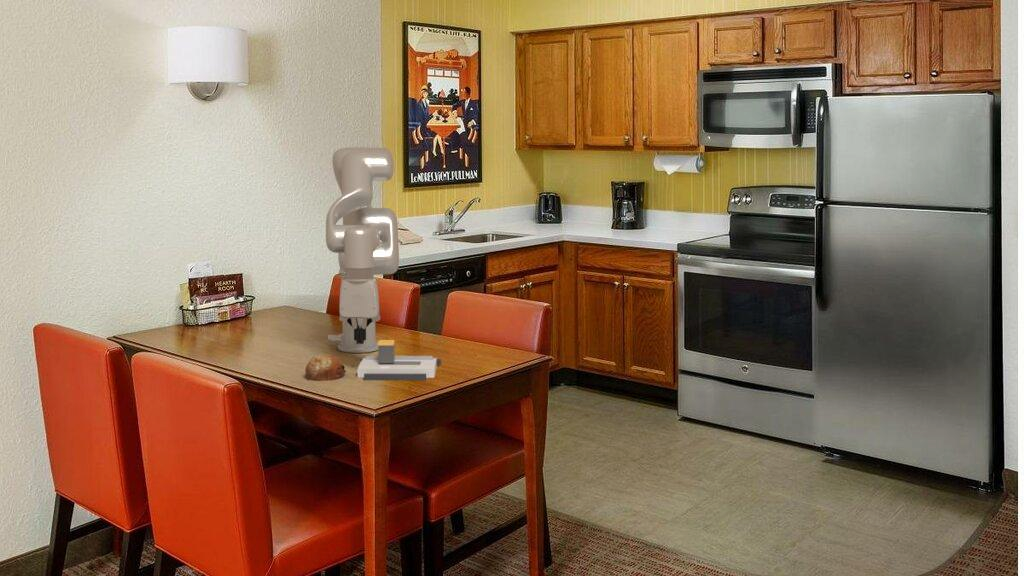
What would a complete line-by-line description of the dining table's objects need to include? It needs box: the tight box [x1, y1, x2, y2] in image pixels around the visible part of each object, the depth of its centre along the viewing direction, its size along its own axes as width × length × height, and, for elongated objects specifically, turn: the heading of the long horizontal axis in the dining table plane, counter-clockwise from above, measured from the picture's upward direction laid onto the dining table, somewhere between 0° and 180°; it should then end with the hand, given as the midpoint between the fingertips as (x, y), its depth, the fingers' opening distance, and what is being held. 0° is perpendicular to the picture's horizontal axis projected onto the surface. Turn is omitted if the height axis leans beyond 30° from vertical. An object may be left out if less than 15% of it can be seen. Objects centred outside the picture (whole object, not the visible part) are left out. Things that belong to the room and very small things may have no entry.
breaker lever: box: [377, 339, 396, 363], centre depth 258 cm, size 4×3×6 cm
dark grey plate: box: [360, 358, 442, 381], centre depth 259 cm, size 22×18×1 cm
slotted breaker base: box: [357, 355, 438, 379], centre depth 258 cm, size 20×12×3 cm, turn 91°
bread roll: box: [304, 352, 347, 382], centre depth 253 cm, size 10×10×8 cm
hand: (360, 342), depth 256 cm, fingers closed
